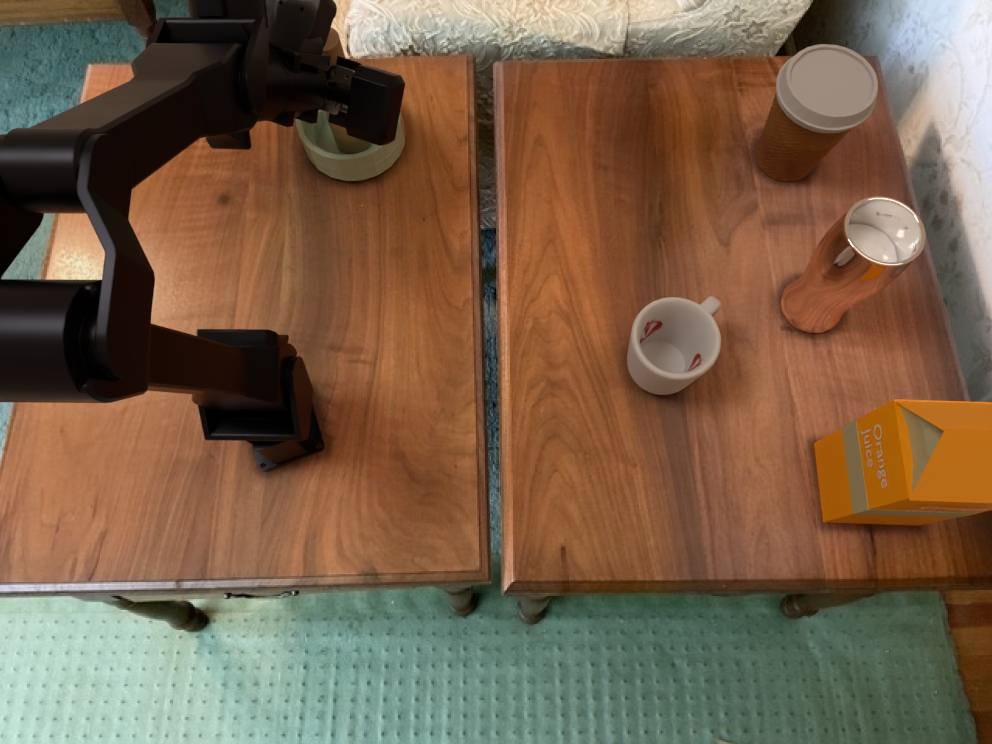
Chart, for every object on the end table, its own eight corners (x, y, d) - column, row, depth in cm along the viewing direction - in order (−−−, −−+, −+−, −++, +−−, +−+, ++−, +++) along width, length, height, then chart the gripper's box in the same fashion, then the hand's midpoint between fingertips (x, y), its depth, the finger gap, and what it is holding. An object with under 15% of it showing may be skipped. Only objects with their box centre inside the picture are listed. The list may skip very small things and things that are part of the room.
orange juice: (813, 441, 67) (933, 374, 48) (906, 444, 66) (1064, 378, 48) (822, 524, 64) (954, 488, 45) (919, 527, 64) (1092, 492, 45)
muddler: (378, 146, 77) (352, 49, 64) (340, 157, 77) (306, 62, 64) (367, 116, 79) (339, 15, 66) (330, 127, 78) (294, 28, 65)
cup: (672, 297, 72) (692, 260, 64) (733, 348, 70) (760, 316, 62) (601, 366, 70) (613, 336, 62) (662, 421, 68) (681, 397, 60)
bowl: (418, 166, 78) (413, 140, 73) (322, 196, 77) (311, 172, 72) (389, 90, 81) (382, 61, 77) (296, 118, 80) (284, 90, 76)
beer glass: (762, 308, 71) (825, 232, 57) (801, 263, 73) (872, 179, 59) (819, 351, 70) (898, 284, 56) (858, 304, 71) (945, 227, 57)
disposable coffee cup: (730, 178, 76) (769, 102, 65) (754, 112, 79) (795, 28, 68) (816, 206, 75) (870, 134, 64) (837, 138, 78) (893, 57, 67)
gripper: (377, 9, 53) (446, 22, 67) (166, -55, 56) (274, -30, 69) (353, 155, 58) (422, 139, 72) (161, 90, 61) (263, 86, 74)
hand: (346, 81), depth 72 cm, fingers closed on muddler, 3 cm apart
